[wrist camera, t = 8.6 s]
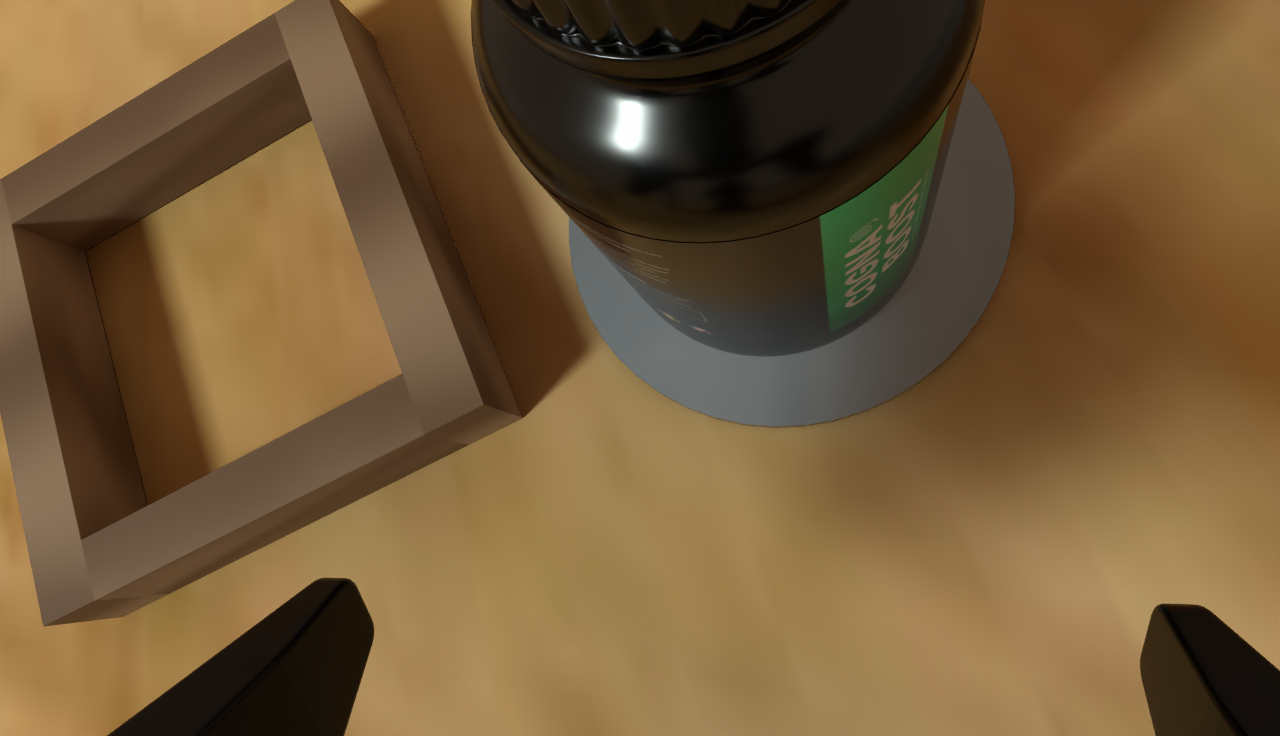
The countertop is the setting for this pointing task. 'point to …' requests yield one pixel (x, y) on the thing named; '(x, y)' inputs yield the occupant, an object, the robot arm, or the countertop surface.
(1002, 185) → the slate coaster
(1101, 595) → the countertop surface
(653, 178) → the supplement bottle
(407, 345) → the brown flat square frame
